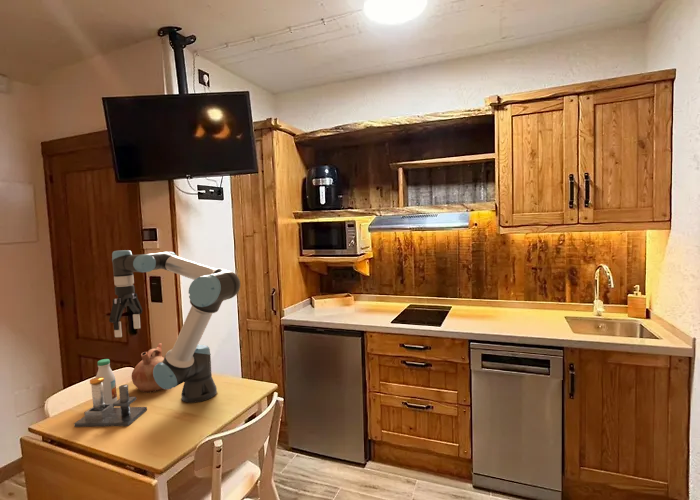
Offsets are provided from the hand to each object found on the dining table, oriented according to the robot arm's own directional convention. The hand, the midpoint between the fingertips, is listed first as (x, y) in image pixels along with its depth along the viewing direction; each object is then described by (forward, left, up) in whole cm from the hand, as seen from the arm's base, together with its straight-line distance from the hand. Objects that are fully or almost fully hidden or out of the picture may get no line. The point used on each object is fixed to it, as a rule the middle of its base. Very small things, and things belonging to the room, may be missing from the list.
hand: (128, 332), depth 173 cm
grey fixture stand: (0, +15, -32) cm, 35 cm away
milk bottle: (+11, +2, -32) cm, 34 cm away
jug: (-1, -15, -32) cm, 35 cm away
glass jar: (+5, +15, -30) cm, 34 cm away
